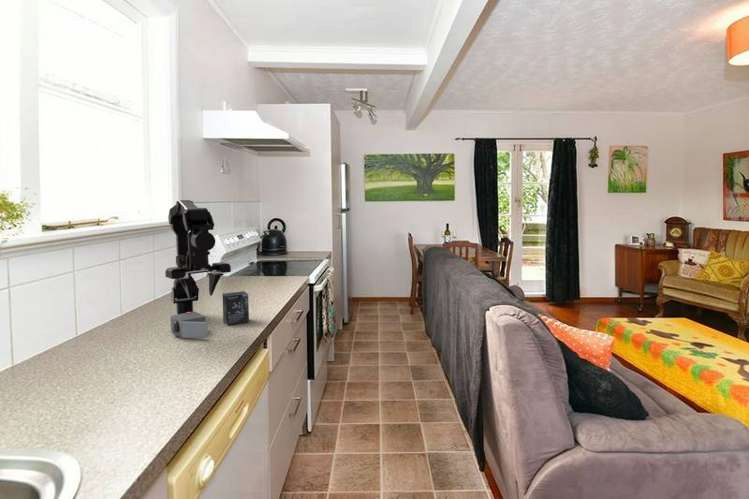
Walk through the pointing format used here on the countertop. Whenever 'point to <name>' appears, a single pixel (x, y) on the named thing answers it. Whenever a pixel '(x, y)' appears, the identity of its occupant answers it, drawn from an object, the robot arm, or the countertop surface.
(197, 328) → the side door
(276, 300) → the countertop surface
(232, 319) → the box
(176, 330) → the grey squat block
